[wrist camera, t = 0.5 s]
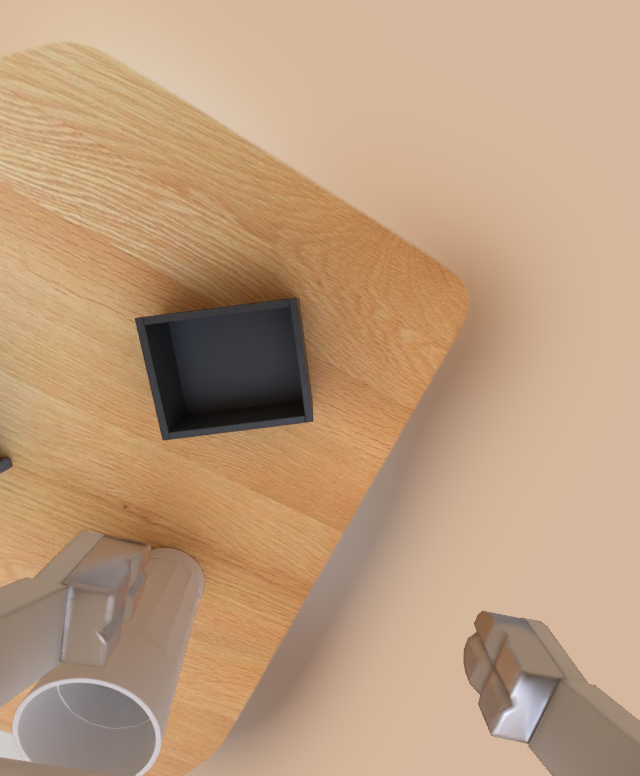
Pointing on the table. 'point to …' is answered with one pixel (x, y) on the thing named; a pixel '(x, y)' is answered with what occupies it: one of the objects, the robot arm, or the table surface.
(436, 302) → the table surface
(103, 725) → the cup
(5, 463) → the cubby shelf
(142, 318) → the basket
